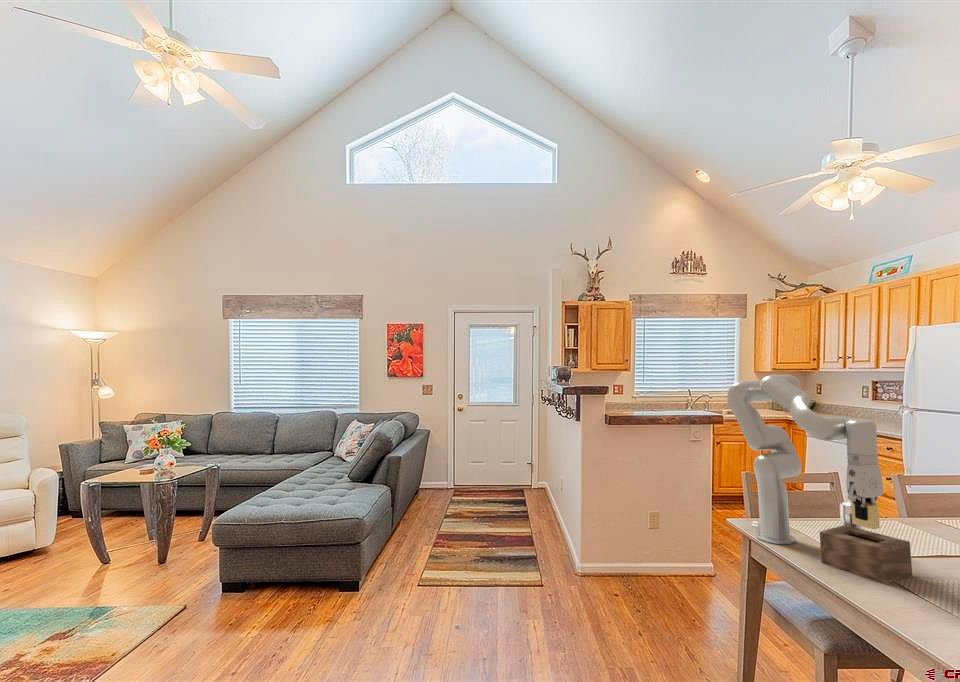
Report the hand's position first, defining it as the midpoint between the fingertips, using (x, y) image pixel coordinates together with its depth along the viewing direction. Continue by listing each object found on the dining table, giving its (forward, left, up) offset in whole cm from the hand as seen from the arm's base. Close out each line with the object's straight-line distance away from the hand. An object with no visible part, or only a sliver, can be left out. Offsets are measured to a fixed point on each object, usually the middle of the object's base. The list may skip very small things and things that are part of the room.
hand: (865, 517), depth 150 cm
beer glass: (-14, +19, -17) cm, 29 cm away
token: (0, 0, -2) cm, 2 cm away
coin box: (-2, +2, -17) cm, 17 cm away
